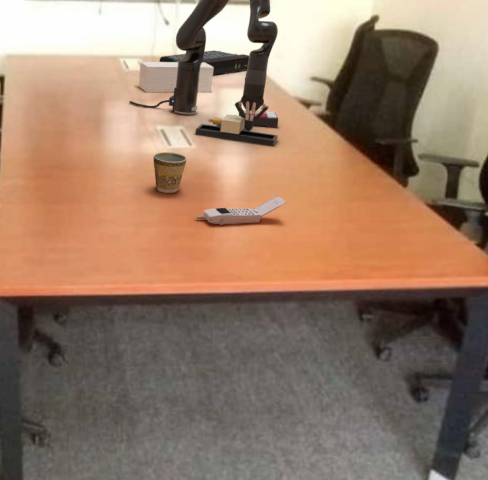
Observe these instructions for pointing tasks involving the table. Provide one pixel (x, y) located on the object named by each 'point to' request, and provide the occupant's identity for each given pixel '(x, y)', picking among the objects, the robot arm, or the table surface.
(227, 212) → the mobile phone
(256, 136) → the rail
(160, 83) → the stack of papers
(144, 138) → the table surface
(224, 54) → the computer keyboard
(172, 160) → the ceramic cup
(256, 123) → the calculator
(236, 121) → the nozzle carriage
